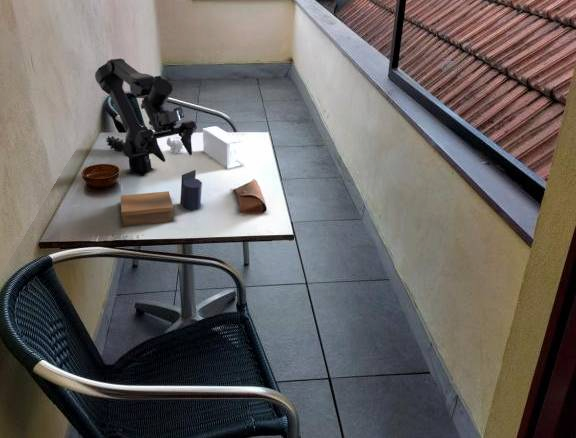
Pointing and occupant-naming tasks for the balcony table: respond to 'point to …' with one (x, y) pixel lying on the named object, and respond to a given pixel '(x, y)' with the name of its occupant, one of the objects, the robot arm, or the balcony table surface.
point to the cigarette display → (220, 146)
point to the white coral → (175, 144)
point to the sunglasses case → (250, 198)
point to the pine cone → (116, 143)
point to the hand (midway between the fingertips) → (178, 158)
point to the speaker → (190, 191)
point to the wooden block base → (146, 208)
